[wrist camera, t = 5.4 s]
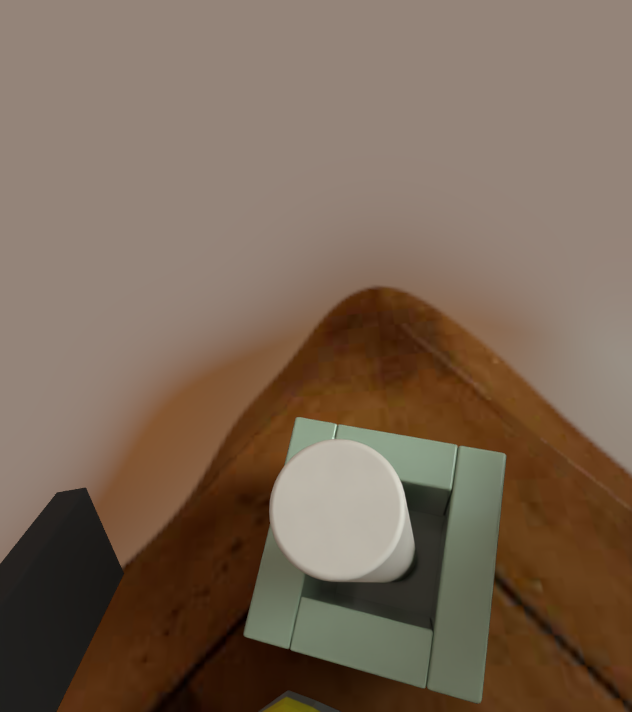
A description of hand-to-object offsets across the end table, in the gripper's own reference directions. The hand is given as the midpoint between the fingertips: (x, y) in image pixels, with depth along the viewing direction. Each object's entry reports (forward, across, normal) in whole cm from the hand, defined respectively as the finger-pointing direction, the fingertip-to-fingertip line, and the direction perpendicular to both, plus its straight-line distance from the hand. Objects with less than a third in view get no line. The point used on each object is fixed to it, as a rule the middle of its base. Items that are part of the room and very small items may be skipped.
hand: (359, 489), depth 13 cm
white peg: (+4, 0, -6) cm, 7 cm away
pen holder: (+4, 0, -6) cm, 8 cm away
